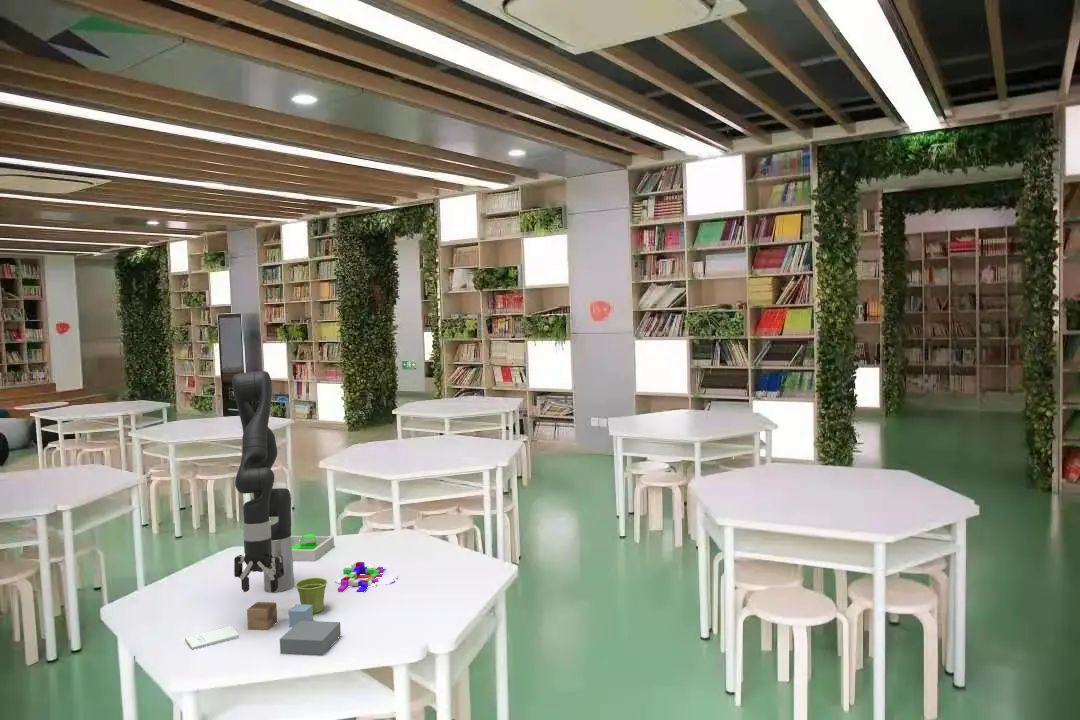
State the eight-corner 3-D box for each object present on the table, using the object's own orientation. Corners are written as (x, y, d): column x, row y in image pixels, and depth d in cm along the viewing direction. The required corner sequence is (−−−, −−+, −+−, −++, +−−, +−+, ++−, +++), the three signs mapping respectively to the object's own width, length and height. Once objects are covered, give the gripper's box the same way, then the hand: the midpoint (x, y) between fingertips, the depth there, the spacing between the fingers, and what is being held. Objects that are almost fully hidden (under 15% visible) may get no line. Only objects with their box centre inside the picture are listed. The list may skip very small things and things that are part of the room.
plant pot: (330, 603, 241) (328, 576, 241) (327, 615, 232) (325, 587, 231) (299, 606, 240) (297, 578, 239) (294, 618, 230) (293, 589, 230)
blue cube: (297, 620, 228) (296, 604, 228) (313, 621, 228) (312, 604, 227) (289, 627, 224) (288, 610, 223) (305, 628, 223) (304, 611, 222)
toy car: (316, 549, 297) (316, 532, 297) (318, 554, 291) (317, 537, 290) (286, 553, 293) (285, 536, 293) (287, 558, 287) (286, 541, 287)
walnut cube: (258, 621, 229) (257, 601, 228) (277, 622, 228) (276, 602, 227) (247, 629, 223) (246, 609, 222) (267, 630, 222) (266, 610, 221)
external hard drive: (239, 639, 217) (192, 652, 210) (231, 630, 224) (185, 642, 216) (238, 634, 217) (191, 646, 210) (230, 625, 224) (184, 636, 216)
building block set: (384, 594, 249) (384, 581, 248) (324, 593, 251) (323, 579, 251) (407, 568, 273) (407, 556, 273) (352, 567, 276) (351, 555, 276)
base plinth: (300, 634, 218) (299, 620, 218) (340, 636, 217) (340, 622, 216) (280, 653, 206) (279, 638, 206) (322, 655, 205) (322, 640, 204)
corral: (291, 545, 302) (291, 535, 302) (334, 546, 299) (333, 536, 299) (270, 560, 285) (269, 549, 284) (314, 561, 282) (314, 550, 282)
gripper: (286, 533, 226) (289, 587, 227) (241, 532, 228) (243, 586, 229) (274, 540, 219) (276, 596, 219) (227, 539, 221) (230, 595, 222)
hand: (260, 591), depth 224 cm, fingers open, 8 cm apart
